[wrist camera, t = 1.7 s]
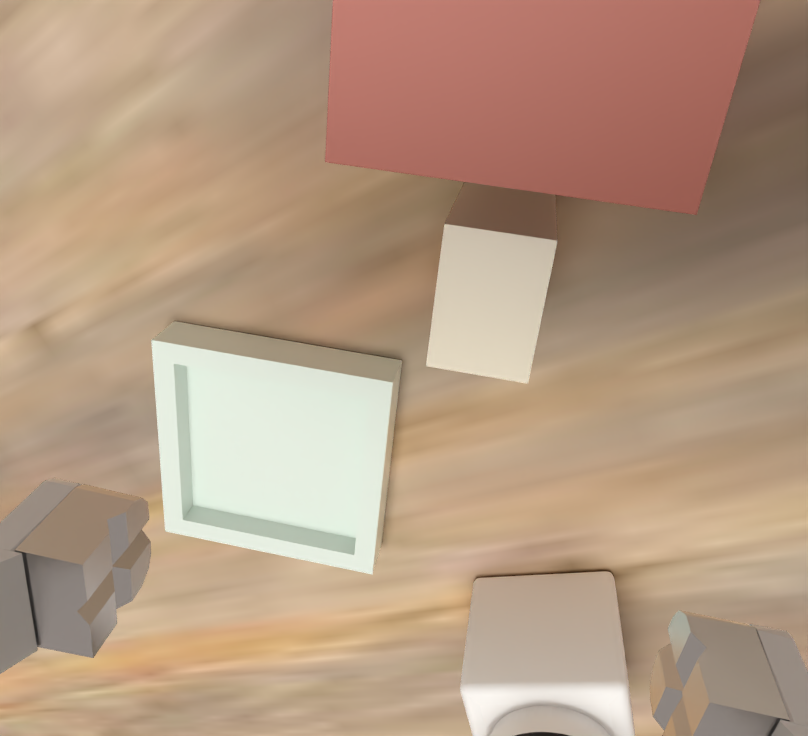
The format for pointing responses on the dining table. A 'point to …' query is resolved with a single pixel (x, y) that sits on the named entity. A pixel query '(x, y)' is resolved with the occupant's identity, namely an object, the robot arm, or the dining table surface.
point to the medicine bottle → (546, 657)
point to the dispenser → (539, 93)
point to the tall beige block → (492, 281)
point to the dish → (275, 443)
